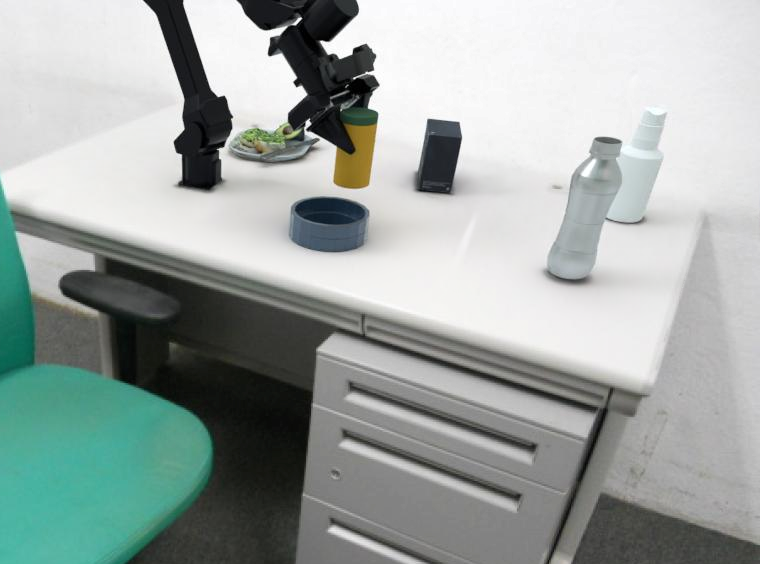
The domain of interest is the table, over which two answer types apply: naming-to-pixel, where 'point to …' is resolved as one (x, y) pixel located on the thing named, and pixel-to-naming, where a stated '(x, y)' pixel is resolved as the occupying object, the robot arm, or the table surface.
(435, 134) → the small box
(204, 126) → the robot arm
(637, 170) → the spray bottle
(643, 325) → the table surface
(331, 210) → the bowl
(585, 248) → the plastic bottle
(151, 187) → the table surface
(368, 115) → the green-capped yellow cylinder
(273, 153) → the salad plate
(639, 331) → the table surface
